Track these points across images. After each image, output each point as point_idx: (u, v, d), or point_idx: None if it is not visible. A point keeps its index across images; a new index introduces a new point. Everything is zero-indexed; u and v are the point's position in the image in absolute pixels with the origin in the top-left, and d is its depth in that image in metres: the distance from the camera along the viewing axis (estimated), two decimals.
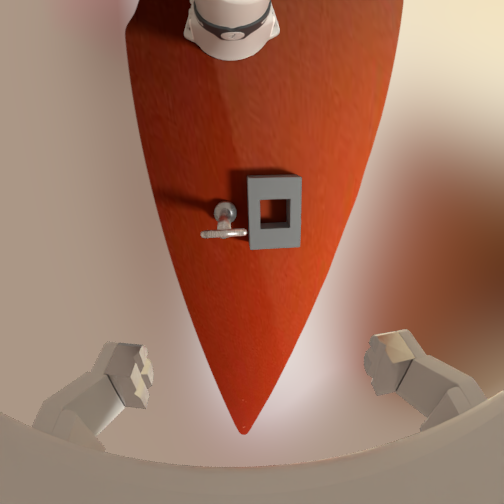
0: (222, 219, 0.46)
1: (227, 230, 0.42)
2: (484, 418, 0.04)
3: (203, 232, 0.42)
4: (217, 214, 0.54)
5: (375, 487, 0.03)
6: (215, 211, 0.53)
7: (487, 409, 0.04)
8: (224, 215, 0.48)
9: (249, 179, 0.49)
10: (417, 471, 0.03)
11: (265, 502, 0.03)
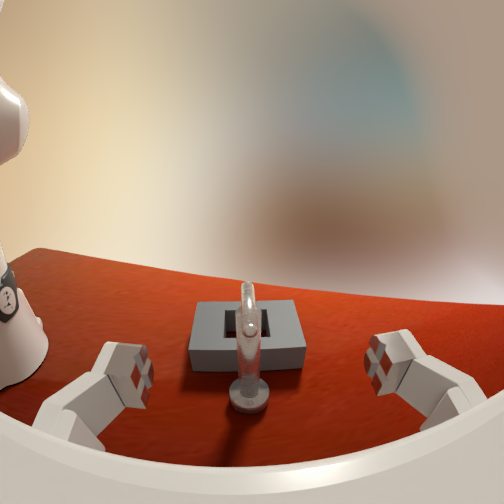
0: (237, 343, 0.24)
1: (242, 300, 0.23)
2: (484, 418, 0.04)
3: (243, 327, 0.20)
4: (250, 401, 0.26)
5: (375, 487, 0.03)
6: (245, 403, 0.26)
7: (487, 409, 0.04)
8: None
9: (190, 347, 0.31)
10: (417, 471, 0.03)
11: (265, 502, 0.03)
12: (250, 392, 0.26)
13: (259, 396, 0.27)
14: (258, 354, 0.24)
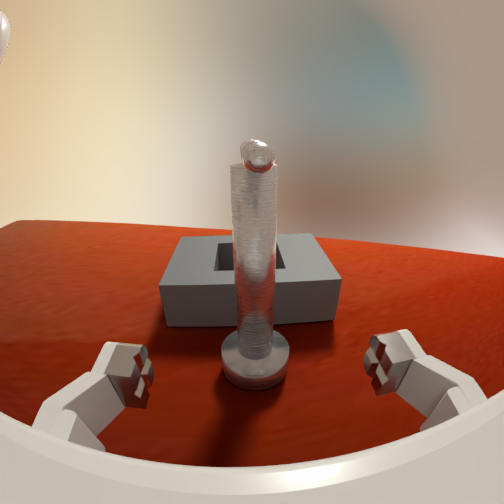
0: (233, 236, 0.14)
1: (242, 147, 0.13)
2: (484, 418, 0.04)
3: (246, 149, 0.09)
4: (258, 364, 0.16)
5: (375, 487, 0.03)
6: (248, 369, 0.15)
7: (487, 409, 0.04)
8: (234, 275, 0.15)
9: (162, 283, 0.20)
10: (417, 471, 0.03)
11: (265, 502, 0.03)
12: (257, 347, 0.16)
13: (273, 356, 0.16)
14: (272, 258, 0.14)
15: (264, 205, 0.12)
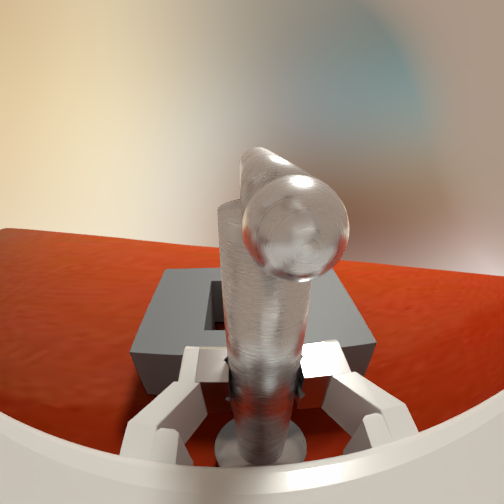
0: (226, 337, 0.07)
1: (243, 167, 0.06)
2: (484, 418, 0.04)
3: (257, 200, 0.03)
4: None
5: (375, 487, 0.03)
6: None
7: (487, 409, 0.04)
8: (230, 382, 0.08)
9: (134, 348, 0.14)
10: (417, 471, 0.03)
11: (265, 502, 0.03)
12: (265, 456, 0.09)
13: (285, 460, 0.10)
14: (296, 371, 0.07)
15: (290, 299, 0.06)
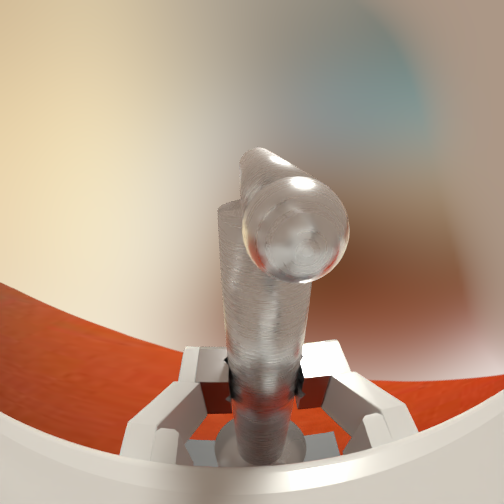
0: (226, 337, 0.07)
1: (244, 167, 0.06)
2: (484, 418, 0.04)
3: (257, 201, 0.03)
4: None
5: (375, 487, 0.03)
6: None
7: (487, 409, 0.04)
8: None
9: None
10: (417, 471, 0.03)
11: (265, 502, 0.03)
12: (264, 457, 0.09)
13: (285, 460, 0.10)
14: (296, 371, 0.07)
15: (290, 300, 0.06)
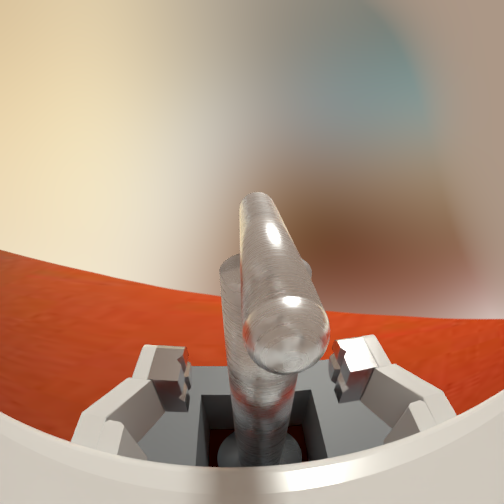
0: (228, 372, 0.08)
1: None
2: (484, 418, 0.04)
3: (254, 319, 0.03)
4: None
5: (375, 487, 0.03)
6: None
7: (487, 409, 0.04)
8: None
9: None
10: (417, 471, 0.03)
11: (265, 502, 0.03)
12: None
13: None
14: (290, 399, 0.08)
15: None
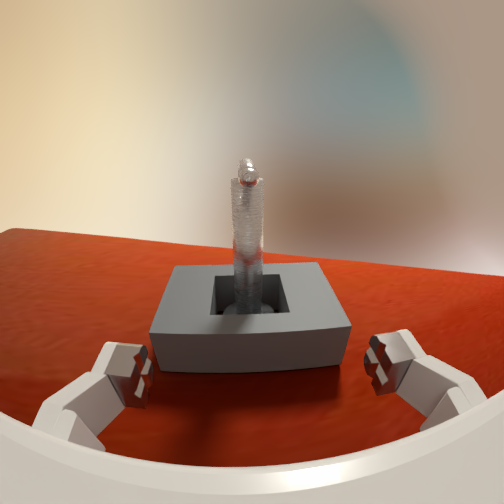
0: (232, 228, 0.20)
1: (239, 166, 0.19)
2: (484, 418, 0.04)
3: (241, 172, 0.15)
4: None
5: (375, 487, 0.03)
6: None
7: (487, 409, 0.04)
8: (233, 256, 0.21)
9: (152, 330, 0.18)
10: (417, 471, 0.03)
11: (265, 502, 0.03)
12: (250, 311, 0.22)
13: None
14: (260, 244, 0.20)
15: (254, 207, 0.18)
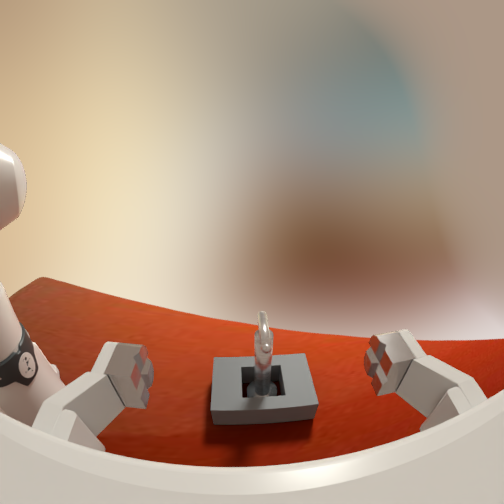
0: (255, 356, 0.33)
1: (259, 326, 0.32)
2: (484, 418, 0.04)
3: (262, 347, 0.29)
4: None
5: (375, 487, 0.03)
6: None
7: (487, 409, 0.04)
8: None
9: (212, 408, 0.31)
10: (417, 471, 0.03)
11: (265, 502, 0.03)
12: (263, 391, 0.35)
13: (270, 394, 0.36)
14: (270, 363, 0.33)
15: None
